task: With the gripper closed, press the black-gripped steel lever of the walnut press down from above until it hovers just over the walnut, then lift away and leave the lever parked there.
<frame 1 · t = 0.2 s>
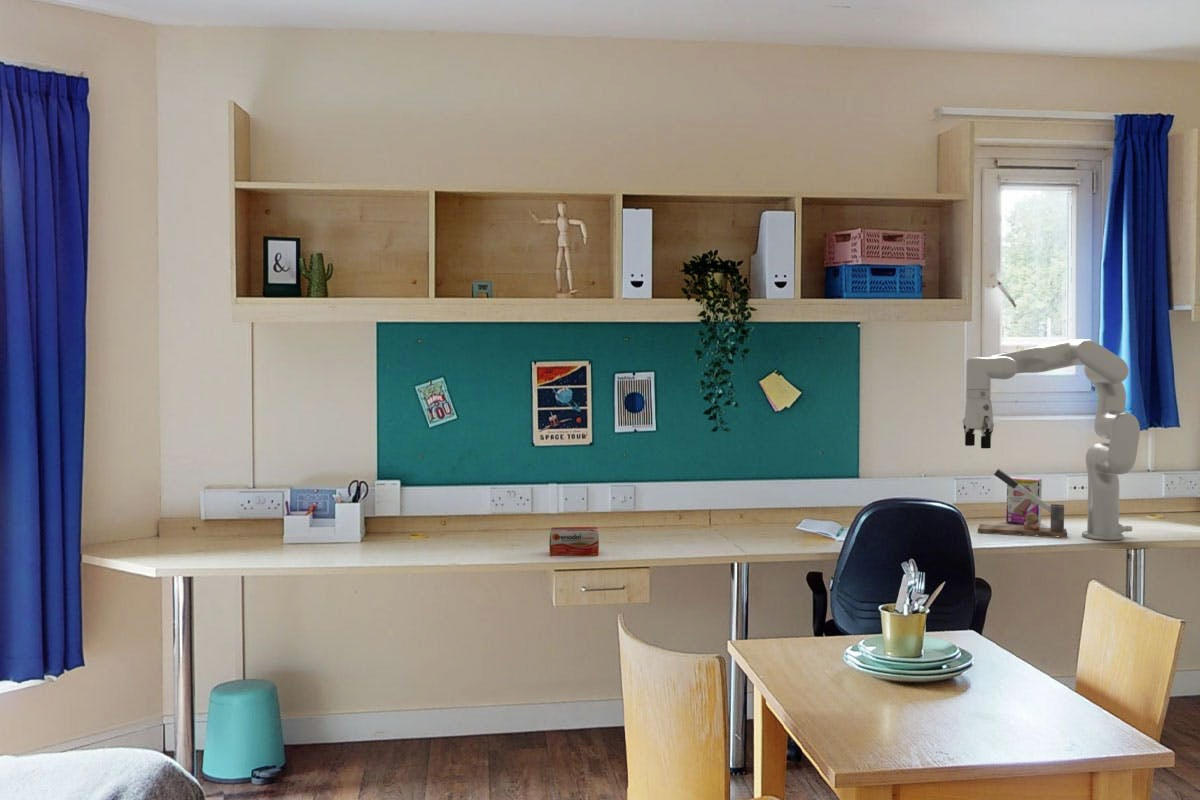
hand: (977, 446, 354), 31 cm above the table, tool pointing down, fingers open, 9 cm apart
press base: (1022, 532, 370), on the table
candy bar box: (1023, 523, 390), on the table
medicine box: (574, 555, 335), on the table
lever: (1027, 493, 369), point 14 cm above the table, hinge at 35.0°
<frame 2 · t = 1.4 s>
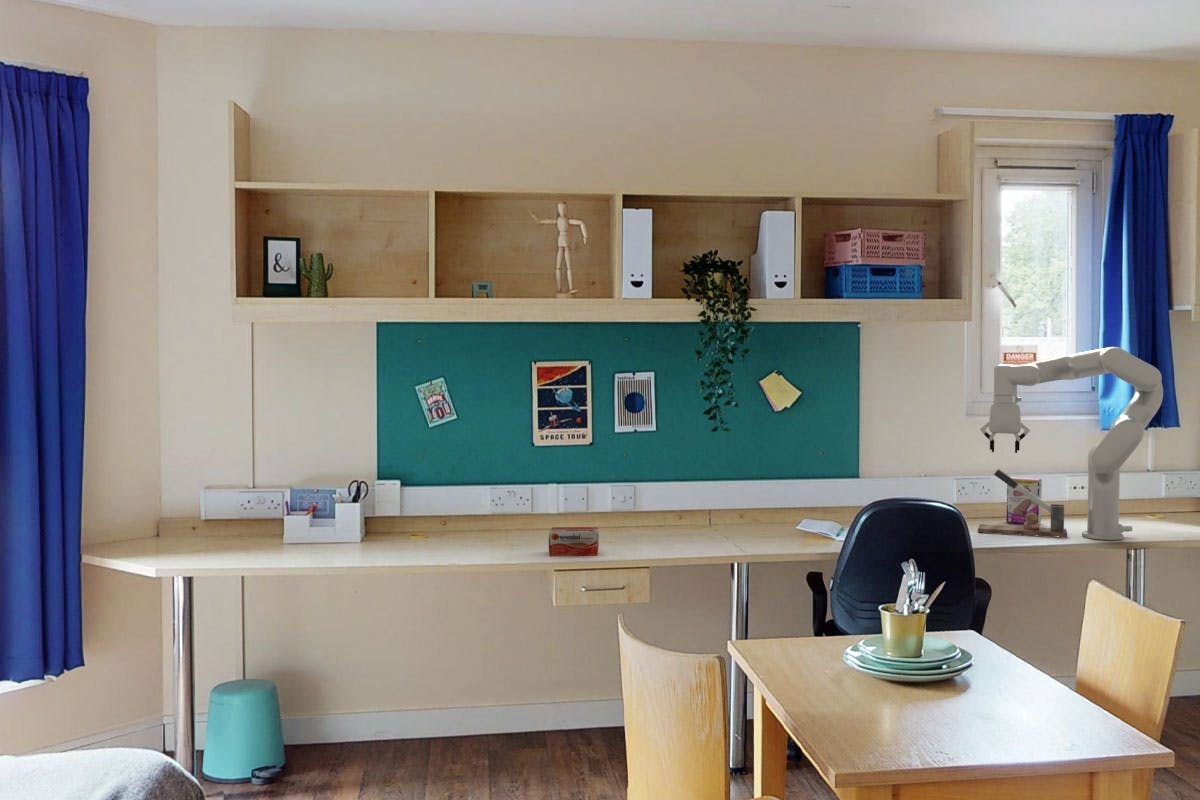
hand: (1004, 451, 371), 28 cm above the table, tool pointing down, fingers open, 6 cm apart
nothing on the table moved.
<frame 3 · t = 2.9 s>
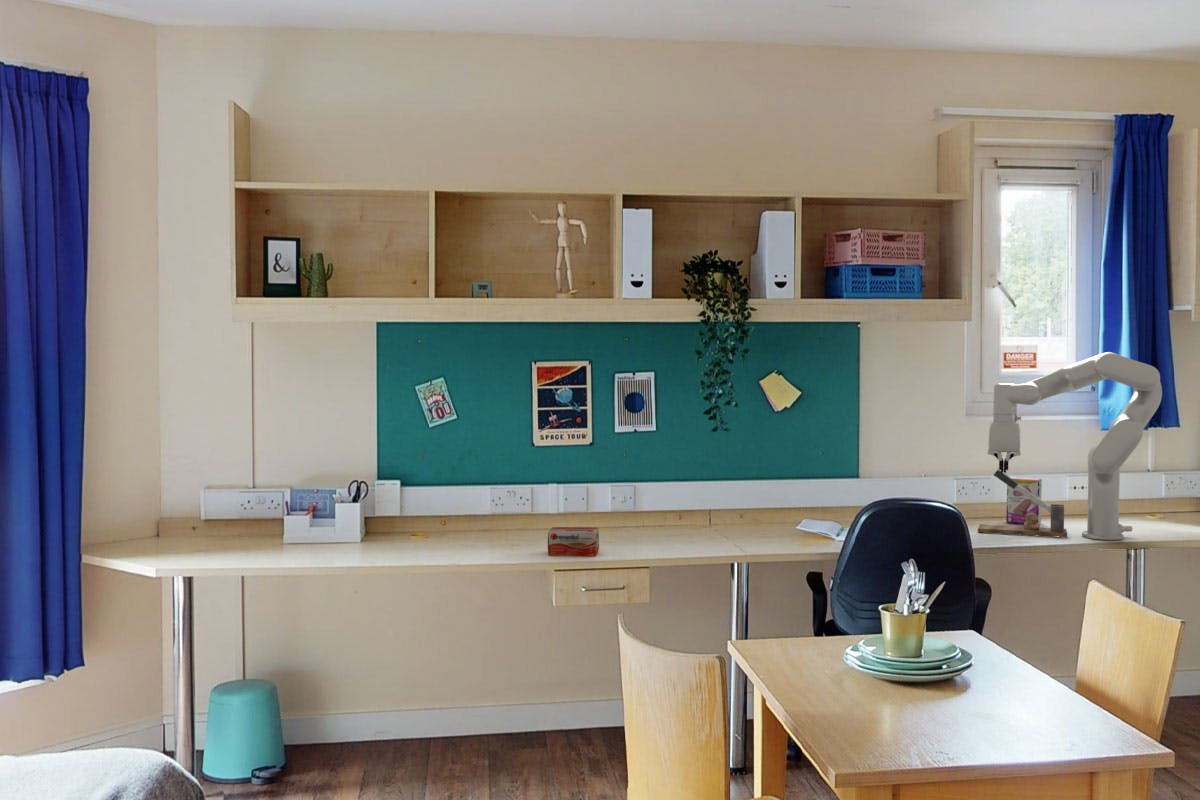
hand: (1003, 472, 371), 21 cm above the table, tool pointing down, fingers closed
lever: (1027, 494, 369), point 13 cm above the table, hinge at 34.5°, touching gripper
everything else where it was.
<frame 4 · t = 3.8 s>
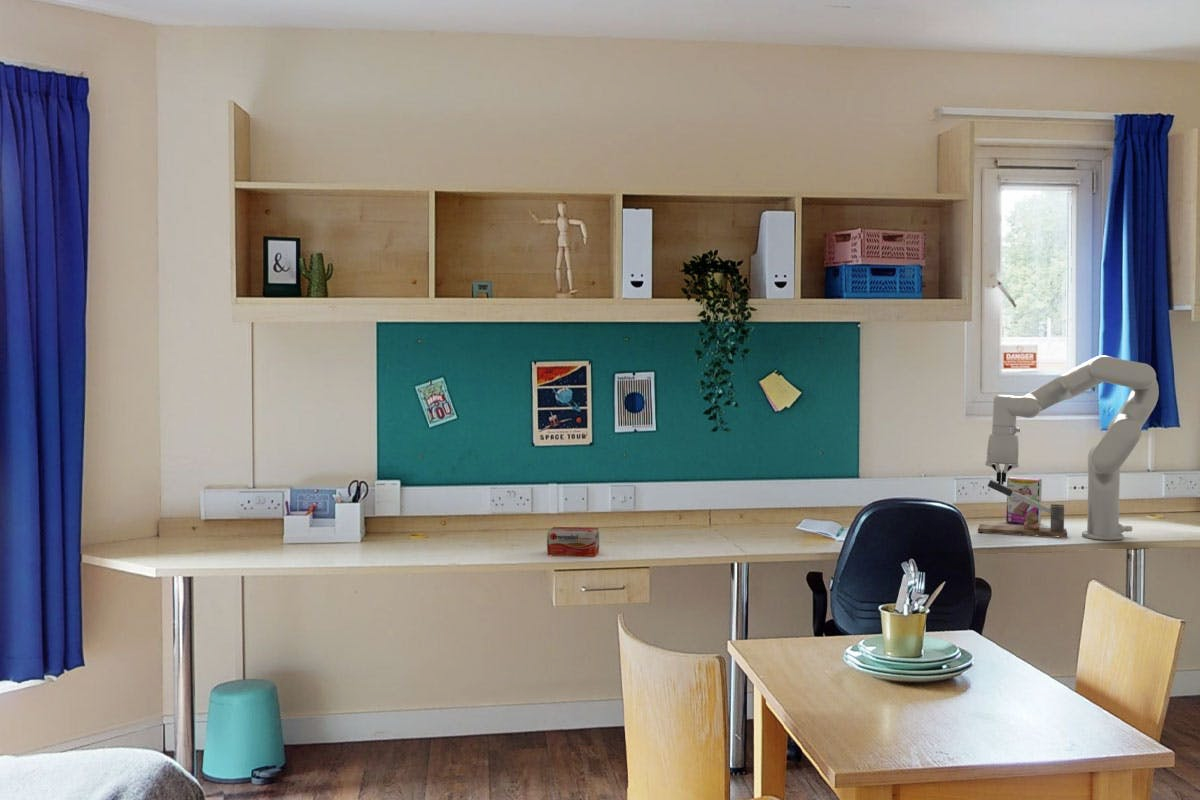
hand: (1000, 483, 372), 17 cm above the table, tool pointing down, fingers closed
lever: (1024, 499, 369), point 12 cm above the table, hinge at 24.1°, touching gripper
everything else where it was.
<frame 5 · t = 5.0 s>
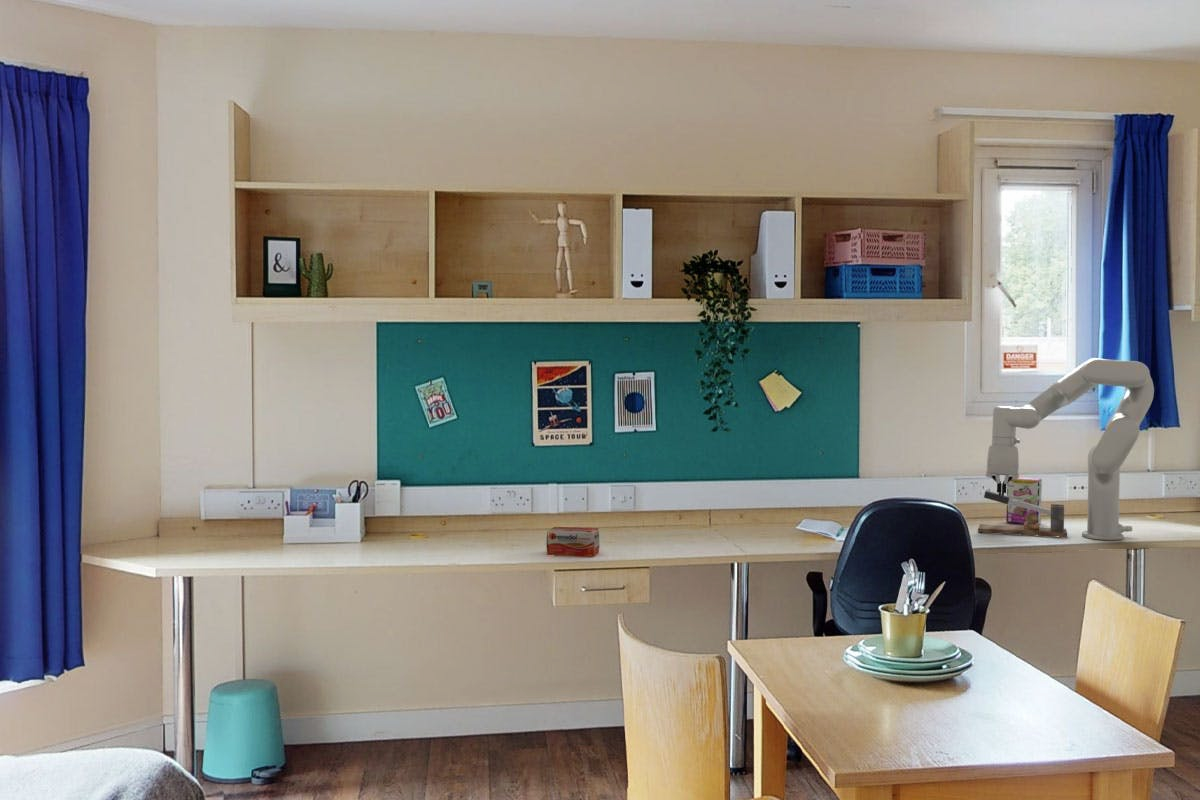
hand: (1001, 494, 372), 13 cm above the table, tool pointing down, fingers closed
lever: (1022, 504, 369), point 10 cm above the table, hinge at 14.2°, touching gripper
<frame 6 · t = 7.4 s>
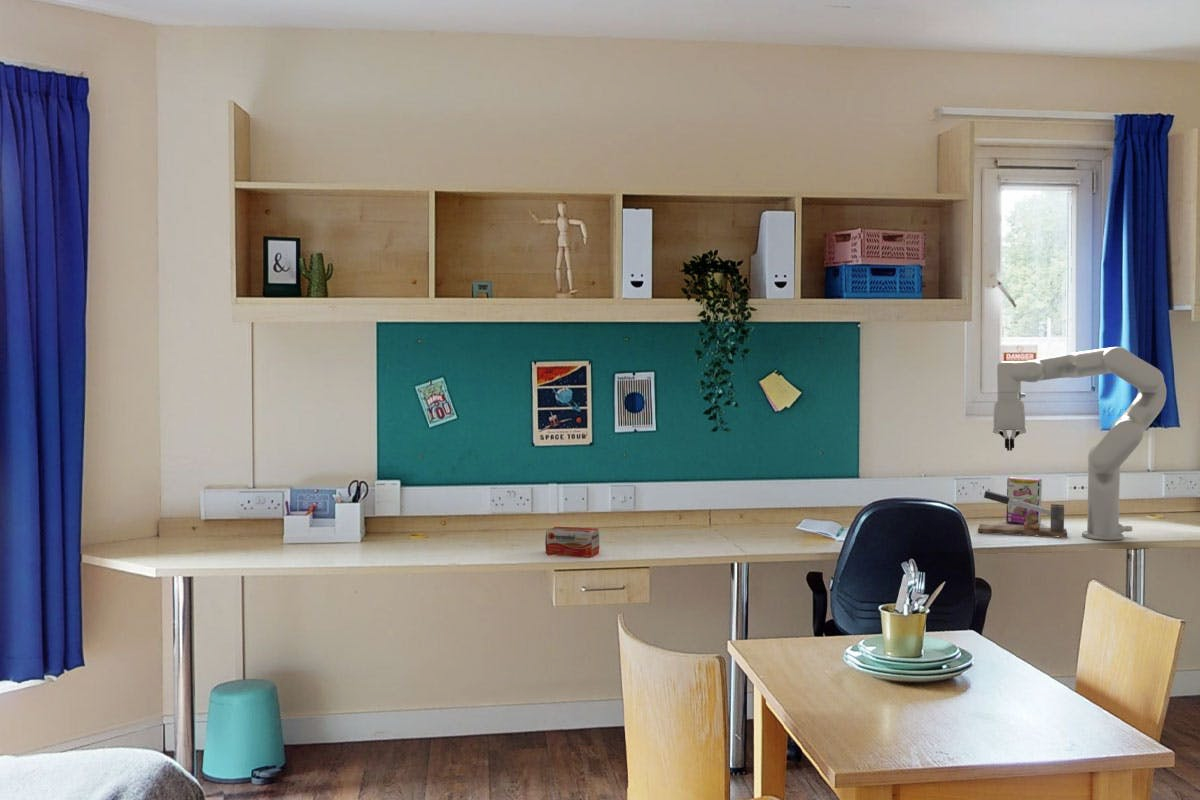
hand: (1009, 450, 371), 28 cm above the table, tool pointing down, fingers closed
lever: (1022, 504, 369), point 10 cm above the table, hinge at 14.2°
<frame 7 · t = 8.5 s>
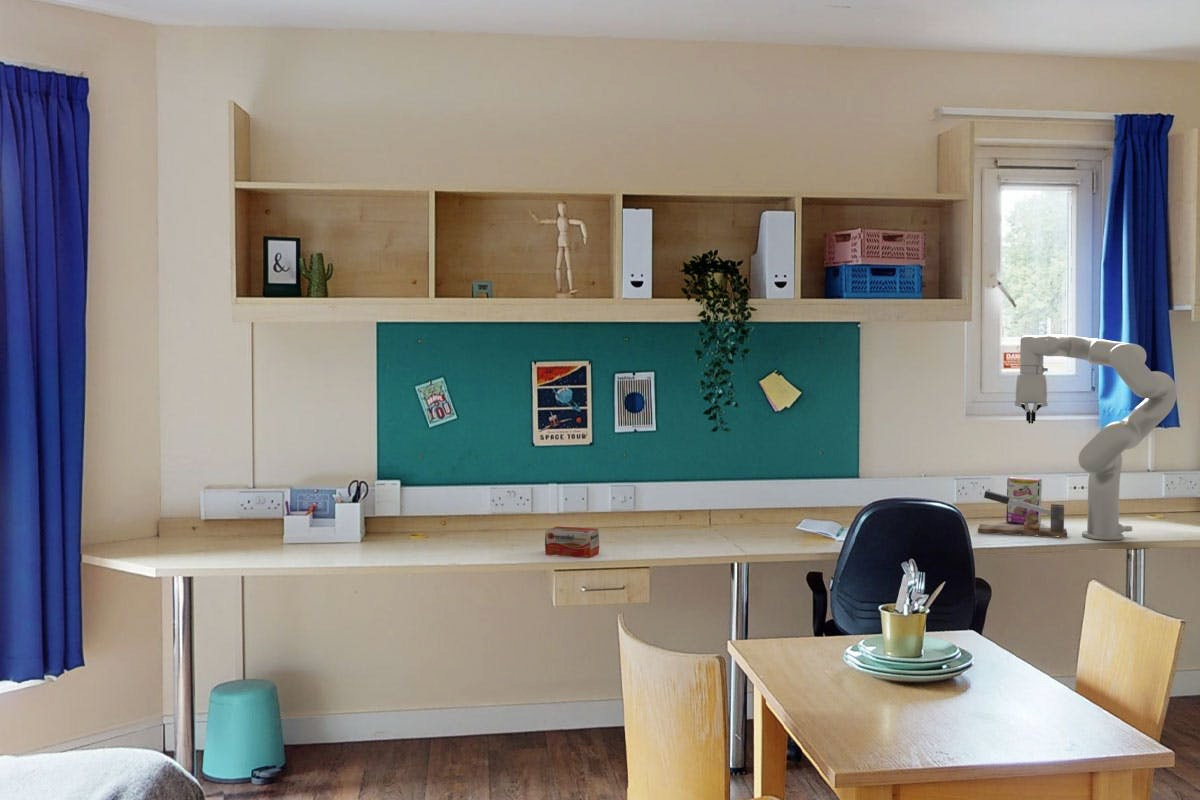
hand: (1030, 423, 377), 37 cm above the table, tool pointing down, fingers closed
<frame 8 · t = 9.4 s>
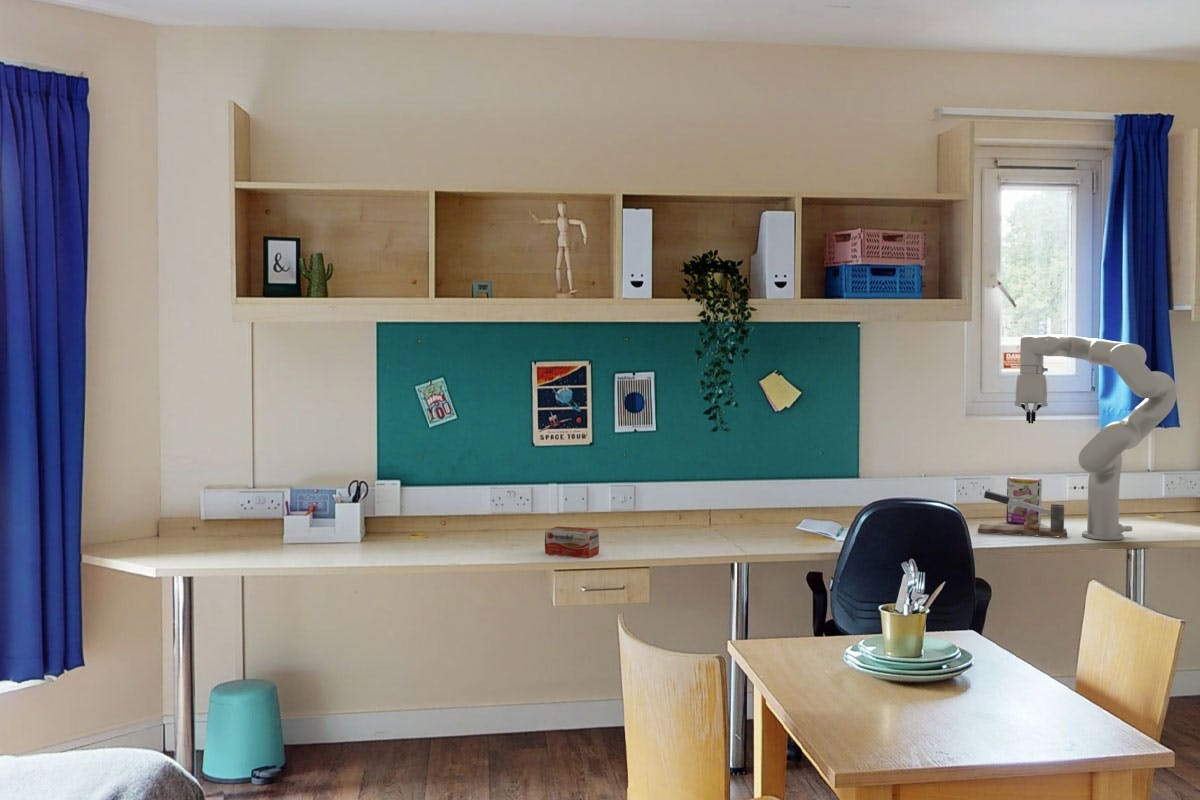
hand: (1030, 423, 377), 37 cm above the table, tool pointing down, fingers closed
at the end: lever at +14° (first picture: +35°); the gripper is holding nothing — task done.
